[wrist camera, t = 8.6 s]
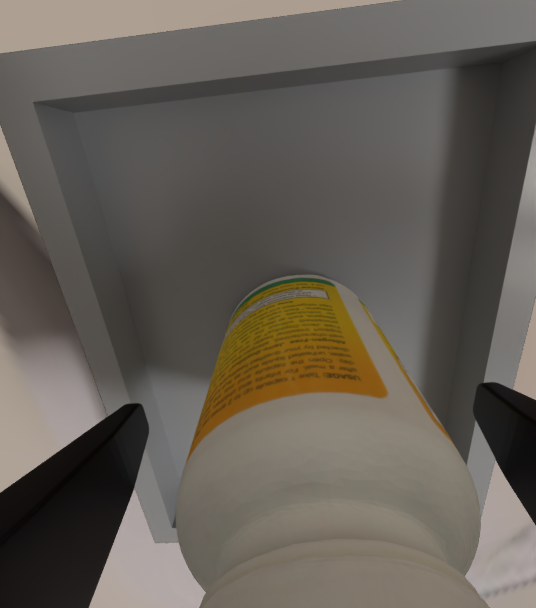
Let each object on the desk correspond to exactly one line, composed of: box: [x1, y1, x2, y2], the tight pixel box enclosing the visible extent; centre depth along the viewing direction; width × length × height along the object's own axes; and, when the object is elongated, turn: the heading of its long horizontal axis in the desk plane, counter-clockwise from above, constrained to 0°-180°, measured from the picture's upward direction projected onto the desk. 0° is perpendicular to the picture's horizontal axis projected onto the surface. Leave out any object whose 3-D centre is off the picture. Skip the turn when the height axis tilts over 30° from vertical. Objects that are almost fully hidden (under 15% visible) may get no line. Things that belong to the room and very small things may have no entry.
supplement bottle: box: [176, 275, 489, 608], centre depth 8 cm, size 5×5×10 cm
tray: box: [0, 0, 536, 543], centre depth 12 cm, size 18×14×2 cm
